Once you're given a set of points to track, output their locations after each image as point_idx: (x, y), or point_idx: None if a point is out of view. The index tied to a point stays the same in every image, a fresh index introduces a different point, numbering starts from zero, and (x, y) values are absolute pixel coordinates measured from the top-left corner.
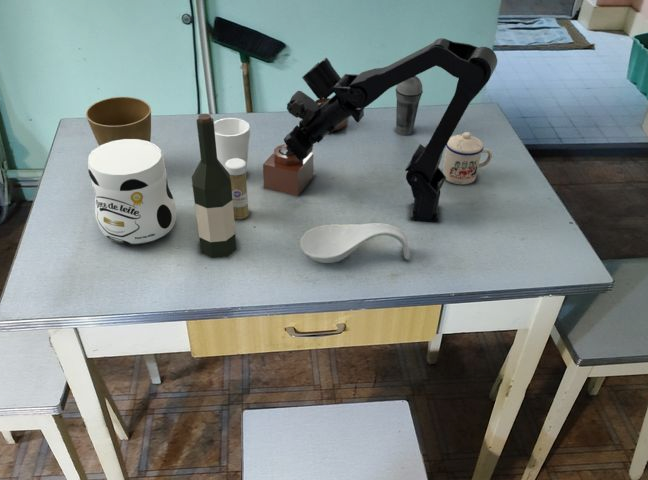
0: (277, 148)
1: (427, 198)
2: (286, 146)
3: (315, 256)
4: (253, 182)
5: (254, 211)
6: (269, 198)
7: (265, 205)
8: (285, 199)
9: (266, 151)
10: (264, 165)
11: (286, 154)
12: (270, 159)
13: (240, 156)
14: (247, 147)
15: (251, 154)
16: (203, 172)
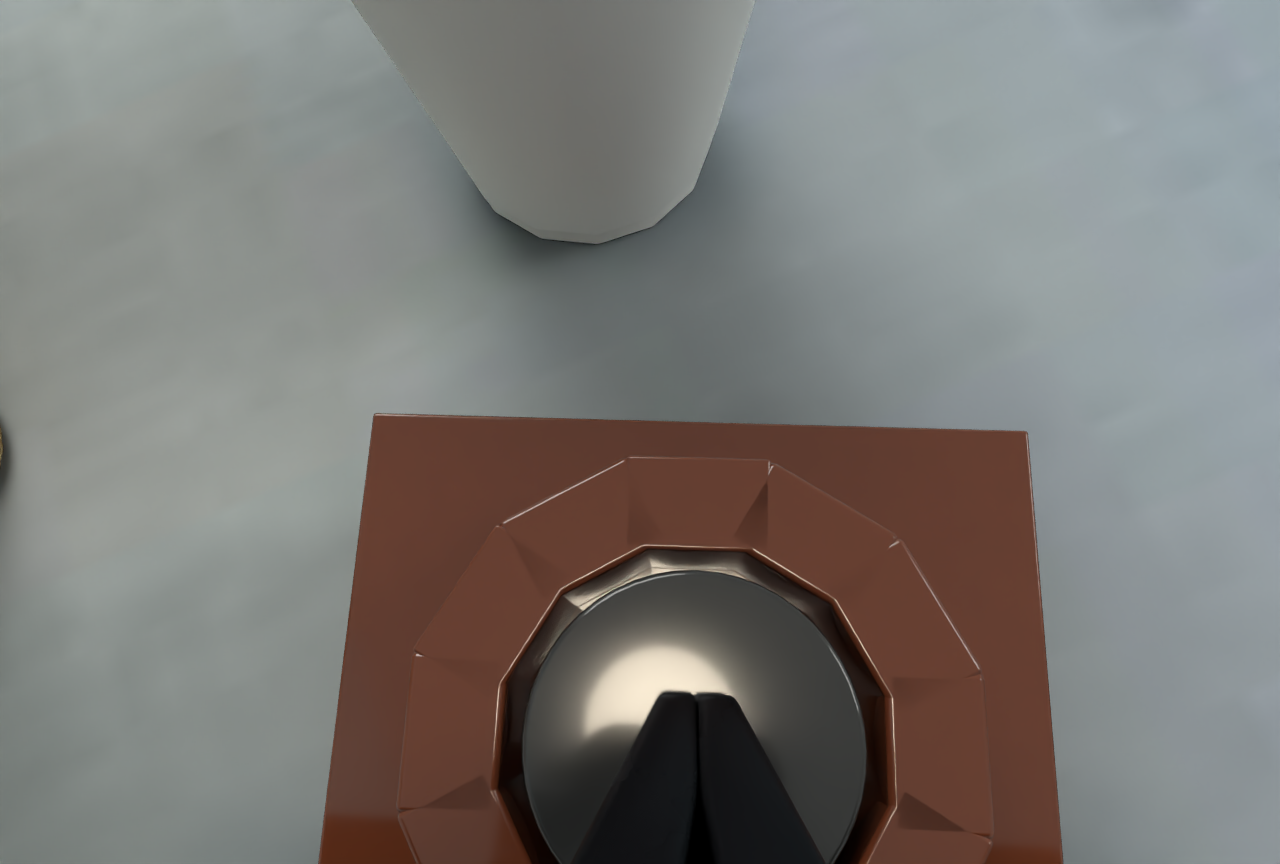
0: (700, 497)
1: None
2: (645, 722)
3: None
4: (538, 350)
5: (9, 582)
6: (289, 632)
7: (144, 646)
8: (318, 817)
9: (1186, 222)
10: (374, 441)
11: (525, 766)
12: (547, 461)
13: (412, 55)
14: (544, 39)
15: (1046, 115)
16: None
